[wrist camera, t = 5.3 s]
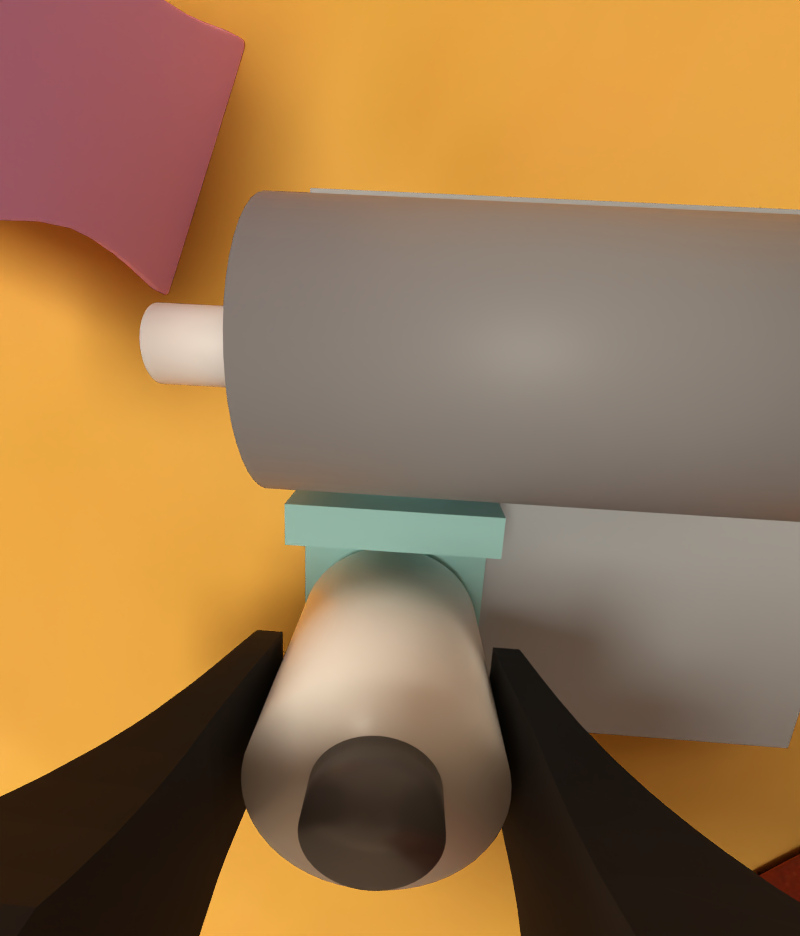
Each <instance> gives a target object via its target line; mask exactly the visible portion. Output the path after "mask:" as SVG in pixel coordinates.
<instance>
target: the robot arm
mask: <svg viewBox="0 0 800 936" xmlns="http://www.w3.org/2000/svg"><path fill="white" fill-rule="evenodd" d="M282 660H283V637H282V632H275V631H262V630H257V631H256V632H254V633H253V634H252V635H251V636H249V637H248V638H247V639H246V640H244V641H243V642H242V643H241V644H240V645H238V646H237V647H236V648H235V649H234V650H232V651H231V652H230V653H229V654H228V655H226V656H225V657H224V658H223V659H222V660H220V661H219V662H218V663H217V664H216V665H214V666H213V667H212V668H211V669H209V670H208V671H207V672H206V673H204V674H203V675H202V676H201V677H199V678H198V679H197V680H196V681H194V682H193V683H192V684H191V685H189V686H188V687H186V688H185V689H184V690H182V691H181V692H180V693H178V694H177V695H176V696H174V697H173V698H171V699H170V700H169V701H167V702H166V703H165V704H163V705H162V706H161V707H159V708H158V709H156V710H155V711H154V712H152V713H151V714H149V715H148V716H146V717H145V718H143V719H142V720H140V721H139V722H137V723H136V724H134V725H132V726H131V727H129V728H128V729H126V730H124V731H123V732H121V733H120V734H118V735H116V736H115V737H113V738H111V739H110V740H108V741H107V742H105V743H103V744H101V745H100V746H98V747H96V748H94V749H93V750H91V751H89V752H87V753H85V754H83V755H81V756H80V757H78V758H76V759H74V760H72V761H70V762H69V763H67V764H65V765H63V766H61V767H59V768H57V769H56V770H54V771H52V772H50V773H48V774H46V775H44V776H42V777H40V778H38V779H36V780H34V781H32V782H30V783H28V784H26V785H24V786H22V787H20V788H18V789H16V790H14V791H11V792H9V793H7V794H5V795H3V796H1V797H0V936H199V935H200V932H201V929H202V926H203V923H204V919H205V916H206V913H207V910H208V907H209V904H210V901H211V898H212V895H213V892H214V889H215V885H216V882H217V879H218V876H219V874H220V871H221V868H222V866H223V863H224V861H225V858H226V855H227V853H228V850H229V848H230V845H231V843H232V841H233V838H234V836H235V833H236V831H237V829H238V826H239V824H240V821H241V819H242V817H243V814H244V812H245V810H246V805H245V802H244V799H243V794H242V786H241V769H242V763H243V759H244V754H245V751H246V749H247V746H248V744H249V741H250V739H251V736H252V734H253V731H254V729H255V726H256V724H257V721H258V719H259V716H260V714H261V712H262V709H263V707H264V704H265V702H266V699H267V697H268V694H269V692H270V689H271V687H272V685H273V682H274V680H275V677H276V675H277V672H278V670H279V667H280V665H281V662H282ZM489 679H490V683H491V688H492V692H493V697H494V701H495V706H496V710H497V715H498V719H499V724H500V728H501V733H502V737H503V742H504V746H505V751H506V755H507V760H508V764H509V769H510V775H511V784H512V789H511V801H510V806H509V810H508V814H507V817H506V819H505V821H504V824H503V826H502V831H503V836H504V841H505V845H506V850H507V855H508V860H509V864H510V869H511V874H512V879H513V884H514V890H515V896H516V902H517V908H518V916H519V924H520V932H521V936H800V902H798V901H797V900H795V899H794V898H792V897H791V896H789V895H787V894H786V893H784V892H783V891H781V890H779V889H778V888H776V887H775V886H773V885H772V884H770V883H769V882H767V881H766V880H765V879H763V878H762V877H760V876H759V875H757V874H756V873H755V872H753V871H752V870H750V869H749V868H747V867H746V866H745V865H743V864H742V863H740V862H739V861H737V860H736V859H735V858H733V857H732V856H730V855H729V854H727V853H726V852H725V851H723V850H722V849H721V848H719V847H718V846H717V845H715V844H714V843H713V842H711V841H710V840H709V839H707V838H706V837H705V836H703V835H702V834H701V833H699V832H698V831H697V830H695V829H694V828H693V827H692V826H690V825H689V824H688V823H687V822H686V821H684V820H683V819H682V818H681V817H679V816H678V815H677V814H676V813H674V812H673V811H672V810H671V809H669V808H668V807H667V806H666V805H664V804H663V803H662V802H661V801H660V800H658V799H657V798H656V797H655V796H654V795H653V794H651V793H650V792H649V791H648V790H647V789H646V788H645V787H643V786H642V785H641V784H640V783H639V782H638V781H637V780H636V779H635V778H634V777H633V776H631V775H630V774H629V773H628V772H627V771H626V770H625V769H624V768H623V767H622V766H621V765H619V764H618V763H617V762H616V761H615V760H614V759H613V758H612V757H611V756H610V755H609V754H608V753H607V752H606V751H605V750H604V749H603V748H602V747H601V746H600V745H599V744H598V743H597V741H596V740H595V739H594V738H593V737H592V736H591V735H590V734H589V733H588V732H587V731H586V730H585V729H584V728H583V727H582V725H581V724H580V723H579V722H578V721H577V720H576V719H575V718H574V716H573V715H572V714H571V713H570V712H569V710H568V709H567V708H566V707H565V706H564V705H563V703H562V702H561V701H560V700H559V699H558V698H557V696H556V695H555V694H554V693H553V691H552V690H551V689H550V688H549V686H548V685H547V684H546V683H545V681H544V680H543V679H542V678H541V676H540V675H539V674H538V672H537V671H536V670H535V669H534V667H533V666H532V665H531V663H530V662H529V661H528V659H527V658H526V657H525V656H524V654H523V653H522V652H521V651H520V650H519V649H508V648H494V647H493V652H492V660H491V668H490V677H489Z"/></svg>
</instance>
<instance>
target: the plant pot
mask: <svg viewBox="0 0 800 936" xmlns="http://www.w3.org/2000/svg"><path fill="white" fill-rule="evenodd" d="M759 876H760V877H762V878H763V879H765V880H766V881H767V882H769V883H770V884H772V885H773V886H775V887H776V888H778V889H779V890H781V891H783V892H784V893H786V894H787V895H789V896H791V897H792V898H794V899H795V900H797V901H798V902H800V854H799V855H797V856H795V857H793V858H791V859H789V860H787V861H785V862H784V863H782V864H780V865H778V866H776V867H774V868H772V869H770V870H768V871H767V872H765V873H763V874H761V875H759Z"/></svg>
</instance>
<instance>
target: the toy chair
mask: <svg viewBox="0 0 800 936" xmlns="http://www.w3.org/2000/svg"><path fill="white" fill-rule="evenodd" d="M244 46H245V44H244V40H243V39H241V38H240V37H238V36H236V35H234V34H232V33H230V32H228V31H226V30H224V29H221V28H219V27H216V26H213V25H211V24H208V23H205V22H203V21H200V20H198V19H196V18H194V17H192V16H189V15H187V14H185V13H184V12H182V11H181V10H179V9H177V8H176V7H174V6H173V5H171V4H169V3H168V2H166V1H165V0H0V220H14V221H39V222H44V223H48V224H53V225H58V226H63V227H68V228H71V229H74V230H76V231H78V232H80V233H82V234H84V235H86V236H88V237H90V238H91V239H93V240H94V241H96V242H97V243H99V244H100V245H101V246H103V247H104V248H106V249H107V250H109V251H110V252H112V253H113V254H114V255H115V256H117V257H118V258H119V259H120V260H121V261H123V262H124V263H125V264H126V265H127V266H128V267H130V268H131V269H132V270H133V271H134V272H135V273H136V274H137V275H138V276H139V277H140V278H142V279H143V280H144V281H145V282H146V283H147V284H148V285H149V286H150V287H151V288H153V289H154V290H156V291H158V292H160V293H163V294H165V295H166V294H168V293H169V290H170V287H171V284H172V281H173V278H174V275H175V272H176V268H177V265H178V262H179V259H180V255H181V252H182V249H183V246H184V242H185V239H186V236H187V233H188V229H189V226H190V223H191V220H192V217H193V213H194V210H195V207H196V204H197V200H198V197H199V194H200V191H201V187H202V184H203V181H204V178H205V174H206V171H207V168H208V165H209V161H210V158H211V155H212V152H213V148H214V145H215V142H216V139H217V135H218V132H219V129H220V126H221V122H222V119H223V116H224V113H225V109H226V106H227V103H228V100H229V97H230V93H231V90H232V87H233V84H234V80H235V77H236V74H237V71H238V67H239V64H240V61H241V57H242V54H243V50H244Z"/></svg>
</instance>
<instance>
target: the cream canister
mask: <svg viewBox="0 0 800 936" xmlns="http://www.w3.org/2000/svg"><path fill="white" fill-rule="evenodd" d="M241 786H242V794H243V799H244V802H245V805H246V809H247V811H248V813H249V816H250V818H251V820H252V822H253V824H254V825H255V827H256V828H257V830H258V831H259V833H260V834H261V836H262V837H263V838H264V839H265V840H266V842H267V843H268V844H269V845H270V846H271V847H272V848H273V849H274V850H275V851H276V852H277V853H279V854H280V855H281V856H282V857H283V858H285V859H286V860H287V861H289V862H290V863H292V864H293V865H294V866H296V867H298V868H300V869H301V870H303V871H305V872H307V873H309V874H311V875H313V876H316V877H318V878H320V879H322V880H326V881H329V882H332V883H335V884H338V885H342V886H347V887H351V888H355V889H360V890H368V891H382V890H398V889H407V888H412V887H418V886H422V885H425V884H429V883H433V882H436V881H438V880H441V879H443V878H446V877H448V876H450V875H452V874H454V873H456V872H458V871H459V870H461V869H463V868H464V867H466V866H467V865H469V864H470V863H471V862H473V861H474V860H476V859H477V858H478V857H479V856H480V855H481V854H482V853H483V852H484V851H485V850H486V849H487V848H488V847H489V846H490V844H491V843H492V842H493V841H494V839H495V838H496V836H497V835H498V833H499V831H500V830H501V828H502V826H503V824H504V821H505V819H506V817H507V814H508V810H509V806H510V801H511V789H512V784H511V775H510V769H509V764H508V760H507V755H506V751H505V746H504V742H503V737H502V733H501V728H500V724H499V719H498V715H497V710H496V706H495V701H494V697H493V692H492V688H491V683H490V679H489V674H488V670H487V665H486V661H485V656H484V652H483V647H482V643H481V638H480V634H479V629H478V625H477V620H476V616H475V611H474V608H473V604H472V601H471V599H470V597H469V594H468V592H467V591H466V589H465V587H464V586H463V584H462V583H461V582H460V580H459V579H458V578H457V577H456V576H455V575H454V574H453V573H452V572H451V571H450V570H449V569H448V568H447V567H445V566H444V565H442V564H441V563H439V562H438V561H436V560H434V559H432V558H430V557H429V556H426V555H424V554H417V553H403V552H388V551H373V550H364V551H360V552H357V553H355V554H352V555H349V556H347V557H345V558H344V559H342V560H340V561H338V562H337V563H335V564H334V565H333V566H331V567H330V568H329V569H328V570H327V571H326V572H325V573H323V574H322V575H321V577H320V578H319V579H318V581H317V582H316V583H315V585H314V586H313V588H312V590H311V592H310V594H309V596H308V599H307V601H306V604H305V606H304V609H303V611H302V613H301V616H300V618H299V621H298V623H297V626H296V628H295V631H294V633H293V635H292V638H291V640H290V643H289V645H288V648H287V650H286V653H285V655H284V658H283V660H282V662H281V665H280V667H279V670H278V672H277V675H276V677H275V680H274V682H273V685H272V687H271V689H270V692H269V694H268V697H267V699H266V702H265V704H264V707H263V709H262V712H261V714H260V716H259V719H258V721H257V724H256V726H255V729H254V731H253V734H252V736H251V739H250V741H249V744H248V746H247V749H246V751H245V754H244V759H243V763H242V769H241Z"/></svg>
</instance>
